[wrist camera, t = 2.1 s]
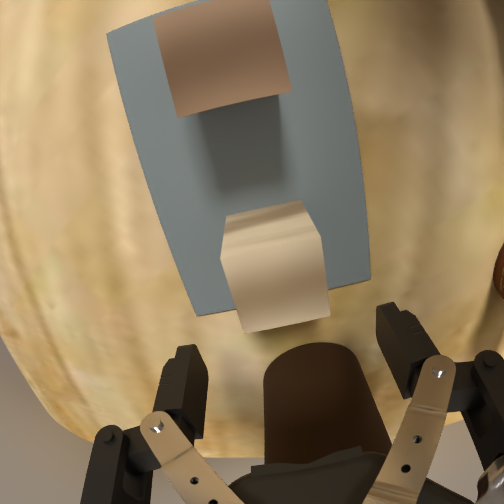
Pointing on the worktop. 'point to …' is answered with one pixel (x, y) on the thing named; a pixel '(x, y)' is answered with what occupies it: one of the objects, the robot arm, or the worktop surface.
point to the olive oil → (319, 406)
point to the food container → (499, 272)
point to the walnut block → (221, 54)
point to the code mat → (249, 151)
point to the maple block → (275, 267)
